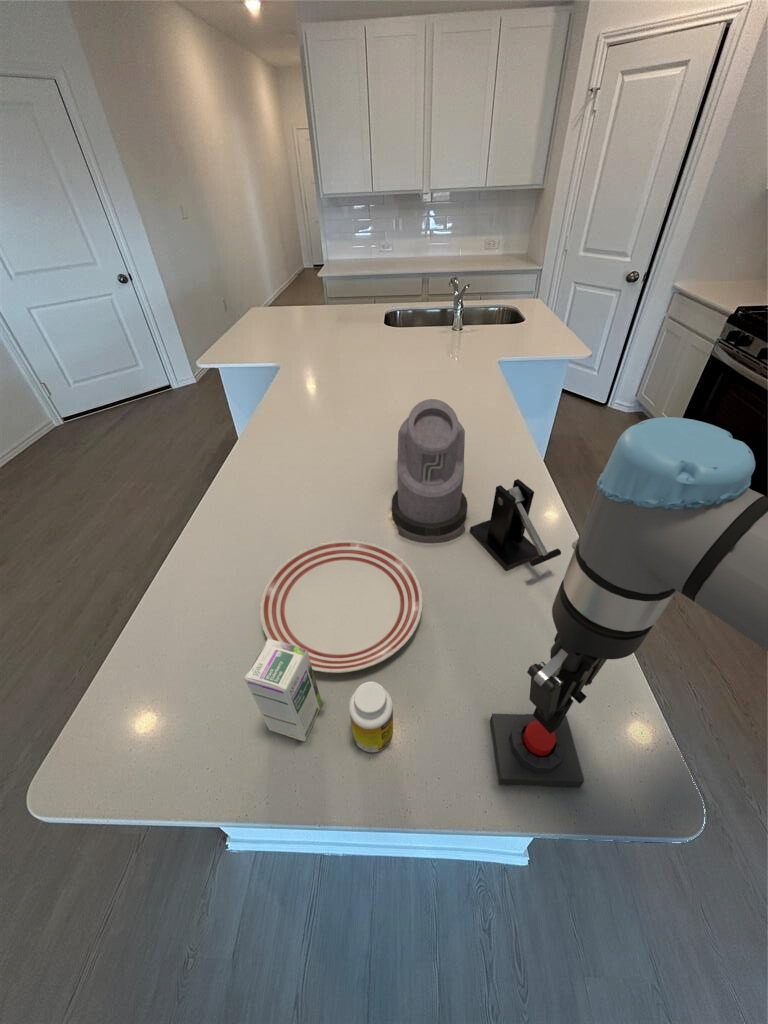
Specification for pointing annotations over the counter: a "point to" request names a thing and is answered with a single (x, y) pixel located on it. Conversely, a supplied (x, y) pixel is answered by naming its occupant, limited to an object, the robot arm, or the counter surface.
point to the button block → (533, 755)
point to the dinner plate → (343, 604)
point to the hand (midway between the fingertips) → (545, 720)
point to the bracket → (507, 529)
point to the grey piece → (430, 475)
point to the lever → (531, 530)
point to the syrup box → (285, 689)
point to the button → (538, 739)
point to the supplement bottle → (371, 717)
